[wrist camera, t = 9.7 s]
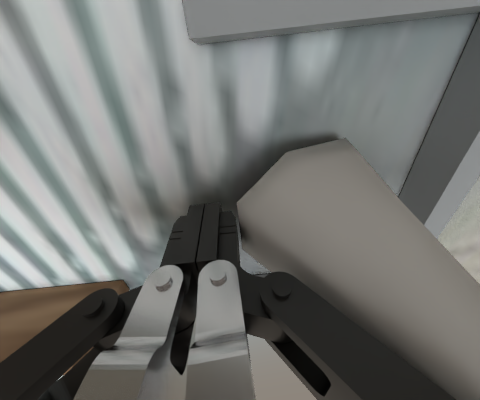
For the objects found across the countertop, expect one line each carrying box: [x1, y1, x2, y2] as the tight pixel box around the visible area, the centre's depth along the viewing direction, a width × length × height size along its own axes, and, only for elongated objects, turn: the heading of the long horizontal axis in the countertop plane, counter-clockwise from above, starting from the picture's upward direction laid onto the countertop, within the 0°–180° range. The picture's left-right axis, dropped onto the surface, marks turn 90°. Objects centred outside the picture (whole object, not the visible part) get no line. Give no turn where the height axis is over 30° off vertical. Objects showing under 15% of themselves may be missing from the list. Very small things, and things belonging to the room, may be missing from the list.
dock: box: [182, 0, 480, 277], centre depth 10 cm, size 16×11×2 cm
